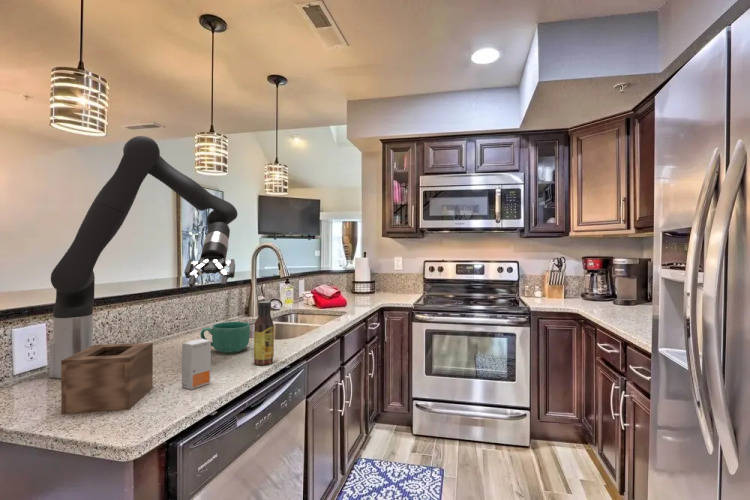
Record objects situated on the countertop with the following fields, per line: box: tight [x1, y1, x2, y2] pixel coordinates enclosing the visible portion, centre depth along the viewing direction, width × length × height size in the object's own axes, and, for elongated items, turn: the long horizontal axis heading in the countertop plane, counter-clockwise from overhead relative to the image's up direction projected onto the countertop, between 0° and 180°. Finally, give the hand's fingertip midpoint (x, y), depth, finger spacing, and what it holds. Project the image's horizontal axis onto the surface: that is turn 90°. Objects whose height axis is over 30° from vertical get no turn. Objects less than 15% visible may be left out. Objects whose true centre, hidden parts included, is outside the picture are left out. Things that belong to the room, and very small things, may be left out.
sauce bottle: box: [253, 300, 275, 366], centre depth 126 cm, size 6×6×20 cm
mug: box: [199, 321, 251, 354], centre depth 140 cm, size 17×13×10 cm
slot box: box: [60, 342, 154, 415], centre depth 95 cm, size 14×14×12 cm
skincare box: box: [181, 338, 212, 390], centre depth 106 cm, size 6×4×12 cm
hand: (206, 286), depth 117 cm, fingers open, 8 cm apart
